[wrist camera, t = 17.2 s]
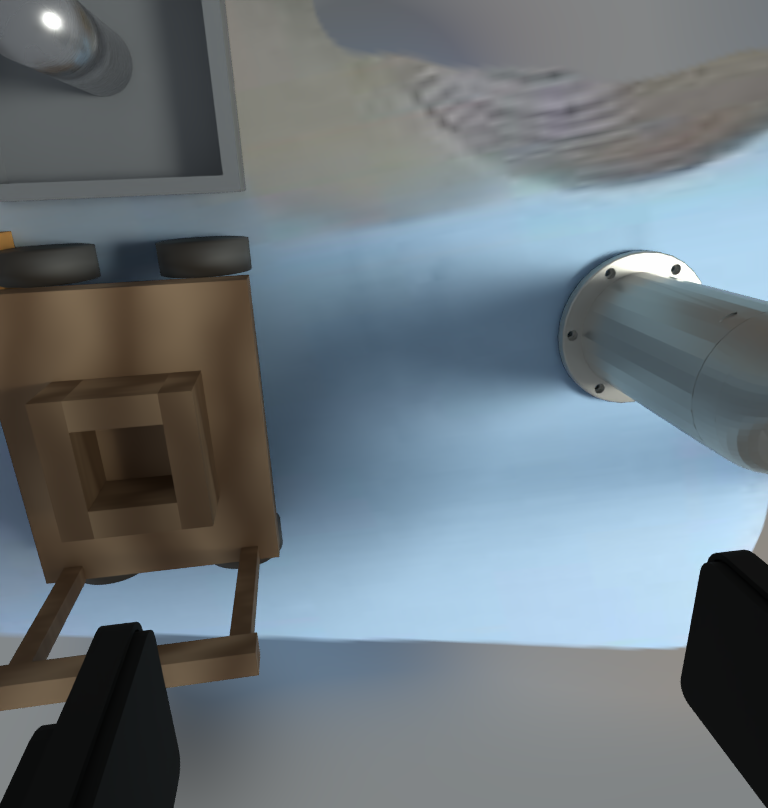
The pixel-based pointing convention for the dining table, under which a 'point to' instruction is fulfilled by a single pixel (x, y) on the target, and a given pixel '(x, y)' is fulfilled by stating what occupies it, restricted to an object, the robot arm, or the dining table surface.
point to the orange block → (6, 245)
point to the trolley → (135, 441)
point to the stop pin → (65, 44)
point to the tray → (129, 113)
